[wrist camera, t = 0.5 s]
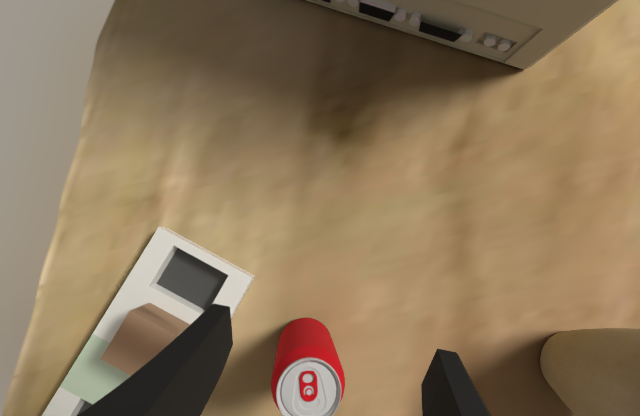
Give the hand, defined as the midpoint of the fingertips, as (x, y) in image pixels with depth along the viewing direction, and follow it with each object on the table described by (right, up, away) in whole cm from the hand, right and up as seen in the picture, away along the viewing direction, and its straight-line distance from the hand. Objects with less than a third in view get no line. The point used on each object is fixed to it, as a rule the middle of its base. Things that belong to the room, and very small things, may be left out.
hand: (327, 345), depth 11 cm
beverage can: (-2, -11, +26) cm, 28 cm away
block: (-18, -9, +23) cm, 30 cm away
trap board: (-19, -12, +24) cm, 33 cm away
